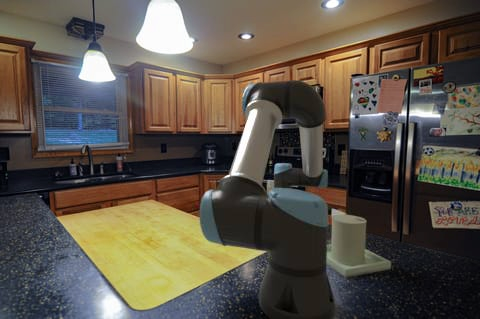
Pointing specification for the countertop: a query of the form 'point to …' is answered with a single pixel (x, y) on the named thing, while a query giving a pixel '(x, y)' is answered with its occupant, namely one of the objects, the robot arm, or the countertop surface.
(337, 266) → the tray
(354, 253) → the can
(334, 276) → the countertop surface
